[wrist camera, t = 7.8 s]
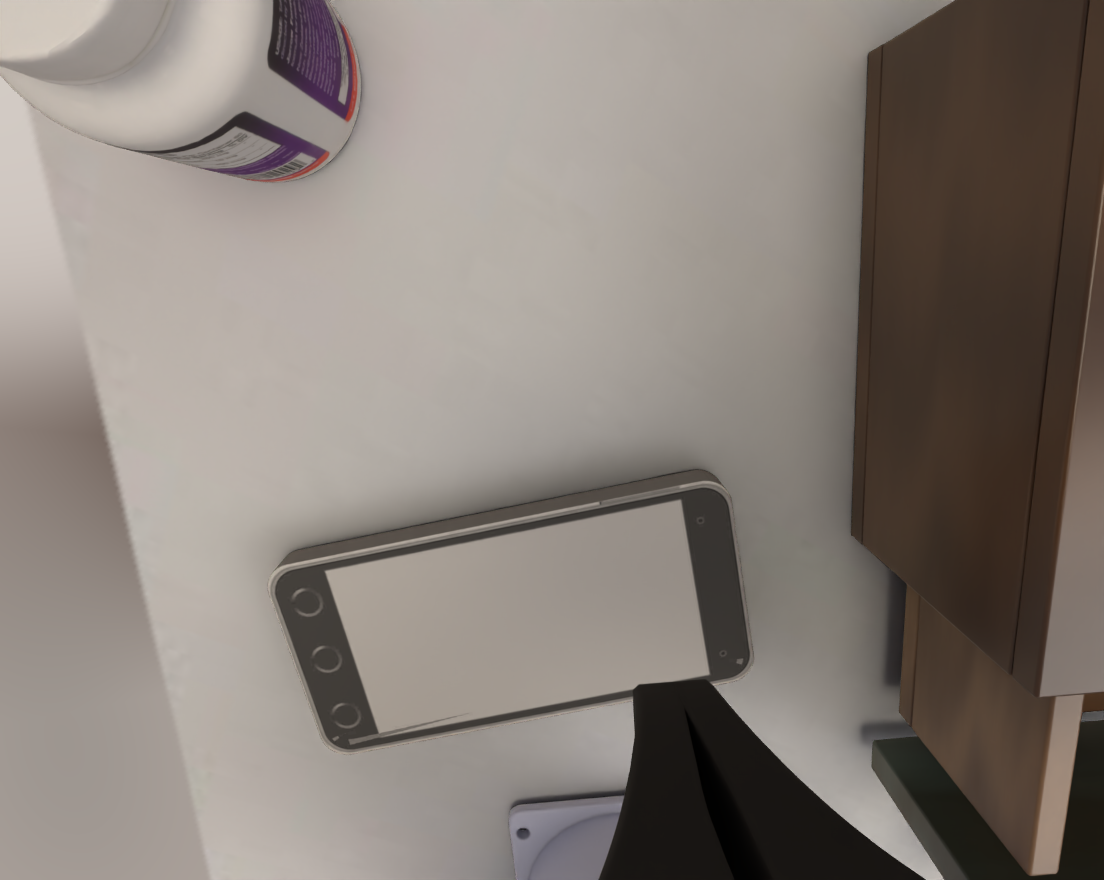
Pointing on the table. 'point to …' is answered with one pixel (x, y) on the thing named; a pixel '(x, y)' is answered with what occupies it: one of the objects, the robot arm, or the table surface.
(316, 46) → the pill bottle
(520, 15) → the table surface
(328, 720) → the smartphone
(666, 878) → the robot arm
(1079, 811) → the rack drawer
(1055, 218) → the cabinet
